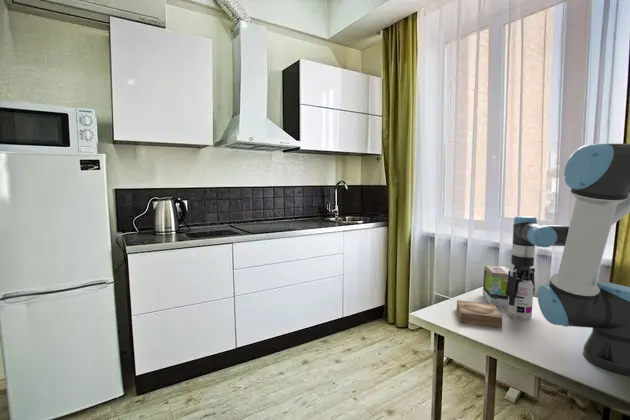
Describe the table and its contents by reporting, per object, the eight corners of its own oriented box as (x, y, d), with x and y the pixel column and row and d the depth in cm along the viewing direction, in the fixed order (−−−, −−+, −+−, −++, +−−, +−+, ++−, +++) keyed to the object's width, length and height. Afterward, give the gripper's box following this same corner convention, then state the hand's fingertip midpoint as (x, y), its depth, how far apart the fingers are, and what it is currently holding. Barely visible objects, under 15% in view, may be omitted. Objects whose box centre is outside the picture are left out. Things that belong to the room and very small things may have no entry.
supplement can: (524, 313, 134) (526, 277, 133) (535, 321, 126) (538, 283, 125) (503, 312, 135) (505, 276, 134) (513, 320, 127) (515, 282, 126)
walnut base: (501, 328, 120) (502, 317, 120) (460, 322, 124) (461, 312, 124) (493, 313, 133) (494, 303, 133) (456, 309, 138) (457, 299, 137)
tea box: (515, 308, 139) (517, 274, 138) (489, 305, 142) (491, 272, 141) (505, 296, 154) (507, 265, 153) (482, 294, 157) (483, 264, 155)
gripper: (528, 250, 137) (525, 303, 139) (496, 255, 127) (493, 312, 129) (548, 254, 130) (544, 309, 132) (516, 259, 120) (512, 319, 122)
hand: (519, 311), depth 131 cm, fingers closed on supplement can, 8 cm apart
